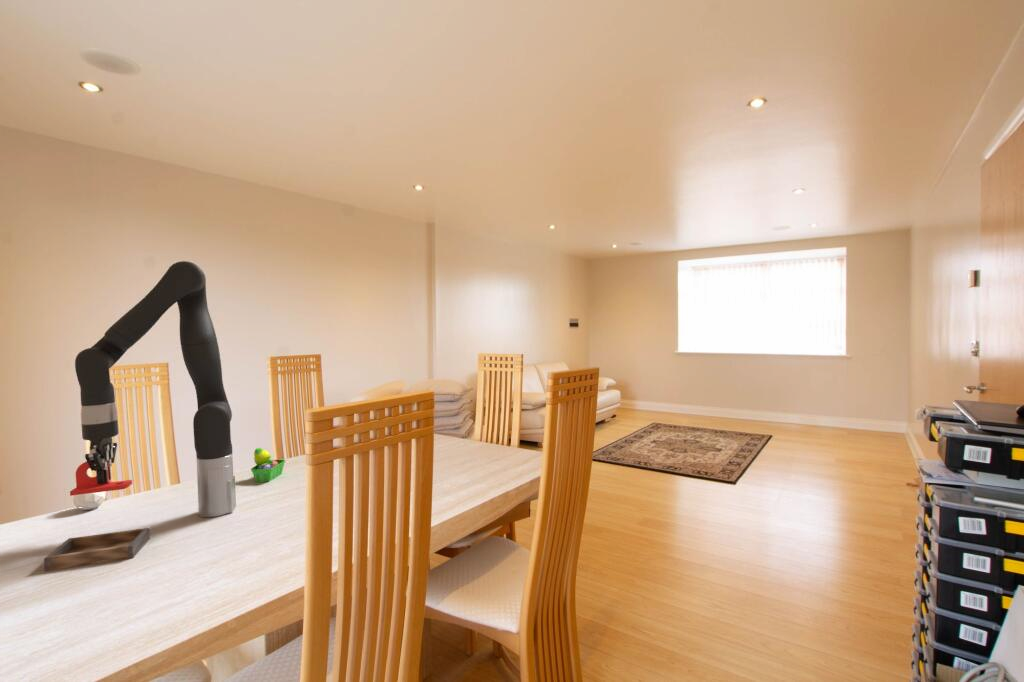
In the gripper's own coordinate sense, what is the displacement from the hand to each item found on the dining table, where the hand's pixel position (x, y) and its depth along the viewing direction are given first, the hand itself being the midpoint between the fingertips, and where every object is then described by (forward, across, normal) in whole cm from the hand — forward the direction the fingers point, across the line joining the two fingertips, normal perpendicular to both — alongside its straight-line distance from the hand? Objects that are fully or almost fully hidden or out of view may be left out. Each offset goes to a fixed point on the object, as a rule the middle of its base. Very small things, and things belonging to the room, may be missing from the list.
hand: (104, 482), depth 132 cm
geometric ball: (+14, +22, +12) cm, 29 cm away
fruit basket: (+15, +34, -36) cm, 51 cm away
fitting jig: (+14, -16, -4) cm, 22 cm away
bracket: (+2, -2, 0) cm, 2 cm away
